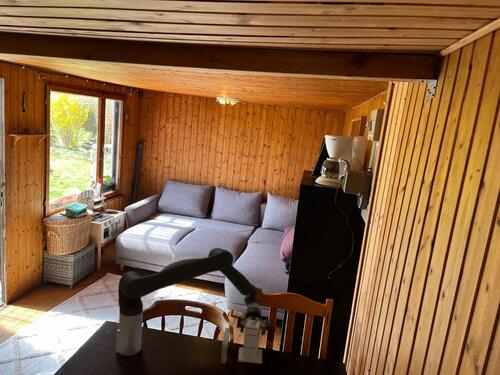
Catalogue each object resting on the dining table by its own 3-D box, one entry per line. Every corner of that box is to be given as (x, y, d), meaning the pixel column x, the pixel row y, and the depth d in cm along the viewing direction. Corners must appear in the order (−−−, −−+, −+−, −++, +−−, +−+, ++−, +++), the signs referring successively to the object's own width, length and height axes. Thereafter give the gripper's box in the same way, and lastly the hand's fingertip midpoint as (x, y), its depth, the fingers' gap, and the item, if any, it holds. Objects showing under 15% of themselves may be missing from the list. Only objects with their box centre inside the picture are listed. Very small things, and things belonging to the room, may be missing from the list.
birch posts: (220, 363, 147) (222, 347, 146) (223, 345, 159) (225, 330, 158) (225, 363, 146) (226, 347, 146) (228, 345, 159) (229, 331, 158)
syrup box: (255, 360, 149) (258, 327, 147) (241, 357, 150) (244, 325, 148) (257, 352, 155) (260, 321, 153) (244, 350, 155) (247, 318, 154)
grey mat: (238, 361, 149) (238, 359, 149) (239, 349, 157) (239, 347, 157) (261, 363, 149) (262, 361, 149) (261, 351, 157) (262, 349, 157)
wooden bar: (222, 347, 146) (222, 343, 146) (225, 330, 158) (225, 327, 158) (226, 347, 146) (227, 344, 146) (229, 331, 158) (229, 328, 158)
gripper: (239, 304, 167) (236, 322, 151) (269, 307, 167) (270, 325, 151) (237, 320, 168) (235, 339, 152) (268, 322, 168) (268, 342, 152)
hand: (252, 332), depth 151 cm, fingers open, 8 cm apart
